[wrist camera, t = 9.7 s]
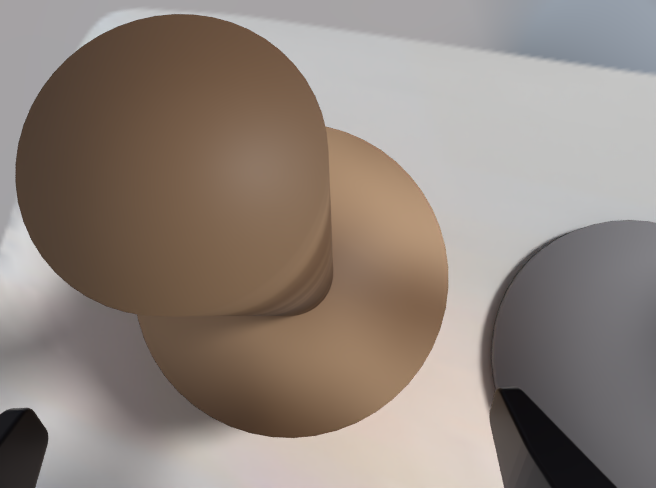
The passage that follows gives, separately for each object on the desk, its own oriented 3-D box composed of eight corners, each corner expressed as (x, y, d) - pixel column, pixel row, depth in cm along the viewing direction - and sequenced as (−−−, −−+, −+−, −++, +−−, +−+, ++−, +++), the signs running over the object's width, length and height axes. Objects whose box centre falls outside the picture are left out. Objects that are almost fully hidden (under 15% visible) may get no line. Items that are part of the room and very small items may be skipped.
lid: (431, 446, 16) (789, 932, 3) (123, 413, 17) (-595, 742, 4) (450, 146, 18) (740, -277, 5) (169, 122, 18) (-223, -336, 5)
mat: (625, 581, 20) (632, 588, 19) (433, 333, 22) (435, 333, 21) (843, 393, 21) (855, 394, 20) (643, 169, 23) (650, 166, 22)
